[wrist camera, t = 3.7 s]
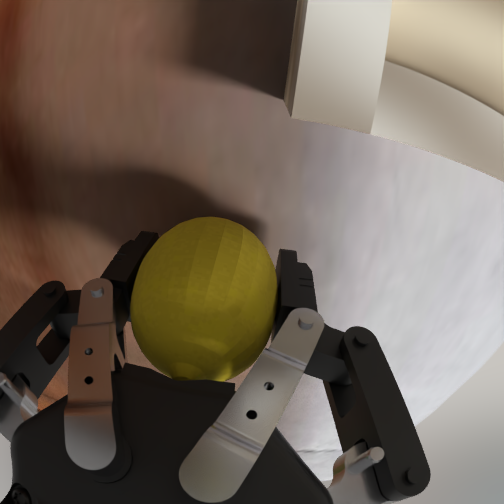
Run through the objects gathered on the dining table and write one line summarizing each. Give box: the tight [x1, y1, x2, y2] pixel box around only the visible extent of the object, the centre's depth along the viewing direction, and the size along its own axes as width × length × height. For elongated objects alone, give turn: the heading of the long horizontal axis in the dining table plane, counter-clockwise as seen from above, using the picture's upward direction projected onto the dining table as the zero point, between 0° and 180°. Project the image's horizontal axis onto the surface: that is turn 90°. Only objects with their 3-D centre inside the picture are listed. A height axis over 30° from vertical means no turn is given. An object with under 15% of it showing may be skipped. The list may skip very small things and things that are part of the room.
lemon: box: [130, 217, 278, 382], centre depth 11 cm, size 6×6×8 cm
